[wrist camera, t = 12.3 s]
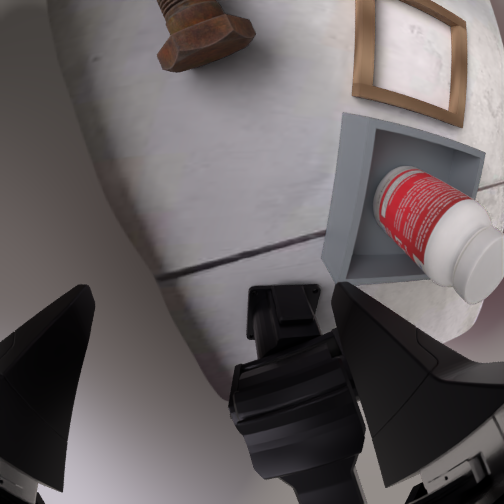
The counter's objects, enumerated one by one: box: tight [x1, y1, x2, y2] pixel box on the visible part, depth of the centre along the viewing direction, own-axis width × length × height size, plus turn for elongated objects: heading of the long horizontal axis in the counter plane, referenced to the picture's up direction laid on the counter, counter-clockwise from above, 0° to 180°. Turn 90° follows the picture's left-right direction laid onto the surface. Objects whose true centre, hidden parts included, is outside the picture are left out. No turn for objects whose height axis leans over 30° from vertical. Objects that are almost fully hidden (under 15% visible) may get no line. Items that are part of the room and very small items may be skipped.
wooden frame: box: [352, 0, 467, 128], centre depth 14 cm, size 11×11×1 cm
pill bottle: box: [373, 166, 504, 304], centre depth 16 cm, size 6×6×11 cm
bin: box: [321, 113, 485, 285], centre depth 20 cm, size 12×12×4 cm
